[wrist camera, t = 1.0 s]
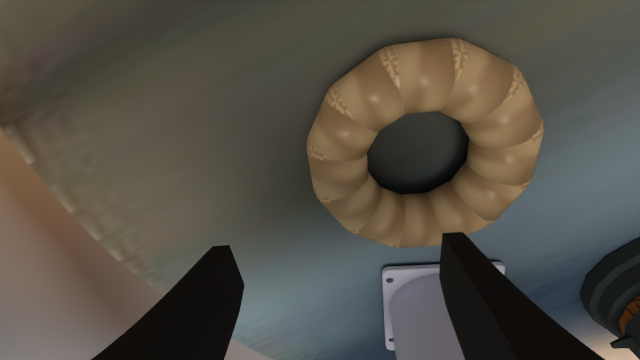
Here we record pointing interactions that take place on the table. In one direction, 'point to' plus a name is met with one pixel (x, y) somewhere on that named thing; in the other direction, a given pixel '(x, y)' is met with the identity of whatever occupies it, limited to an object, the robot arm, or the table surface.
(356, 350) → the table surface
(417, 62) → the ring
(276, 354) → the table surface
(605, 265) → the mug
